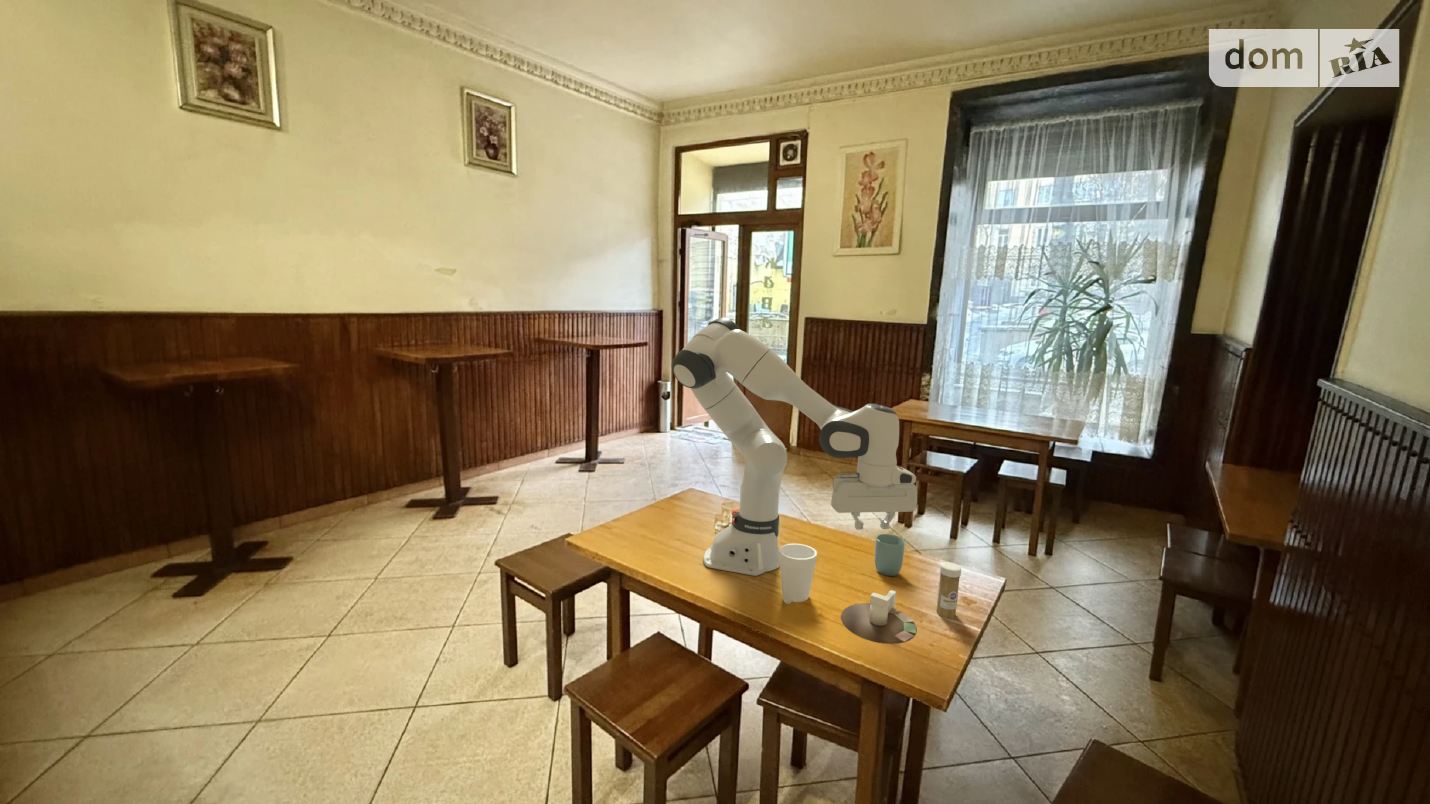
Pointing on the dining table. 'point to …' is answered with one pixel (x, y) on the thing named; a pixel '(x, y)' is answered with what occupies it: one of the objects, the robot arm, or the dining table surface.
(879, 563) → the cup
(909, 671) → the dining table surface
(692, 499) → the dining table surface
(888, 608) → the cream toy mallet
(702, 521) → the dining table surface
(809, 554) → the foam cup
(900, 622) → the dial
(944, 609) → the sprinkles bottle
